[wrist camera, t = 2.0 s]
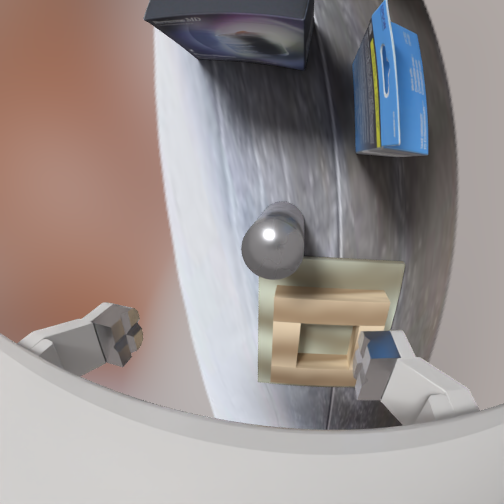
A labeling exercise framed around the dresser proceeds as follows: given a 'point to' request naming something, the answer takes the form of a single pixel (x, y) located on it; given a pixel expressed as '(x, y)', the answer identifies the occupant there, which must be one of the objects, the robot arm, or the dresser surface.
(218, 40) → the small box
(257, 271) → the peg
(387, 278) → the hub block
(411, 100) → the label tape box
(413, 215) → the dresser surface
